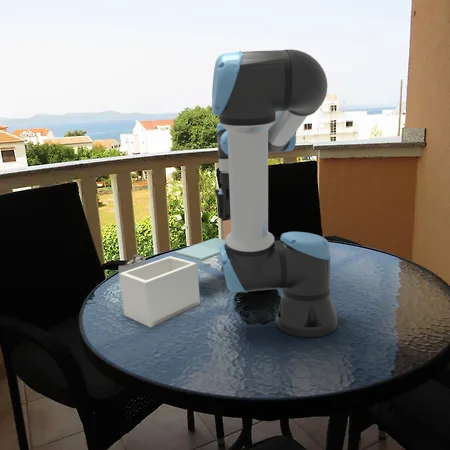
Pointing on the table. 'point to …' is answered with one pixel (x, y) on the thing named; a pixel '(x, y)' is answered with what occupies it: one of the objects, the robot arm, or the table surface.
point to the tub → (159, 290)
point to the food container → (132, 263)
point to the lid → (206, 246)
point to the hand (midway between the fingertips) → (234, 239)
